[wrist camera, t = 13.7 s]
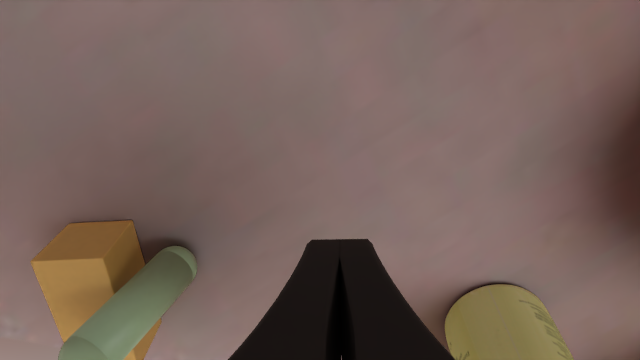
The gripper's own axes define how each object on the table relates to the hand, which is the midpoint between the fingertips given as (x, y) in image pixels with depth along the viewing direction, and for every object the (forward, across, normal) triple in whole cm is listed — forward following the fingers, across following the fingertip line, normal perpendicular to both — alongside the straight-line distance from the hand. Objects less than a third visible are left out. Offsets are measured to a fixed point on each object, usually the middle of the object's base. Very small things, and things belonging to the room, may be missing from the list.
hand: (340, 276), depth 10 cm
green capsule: (+6, +8, +6) cm, 12 cm away
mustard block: (+9, +11, +7) cm, 16 cm away
